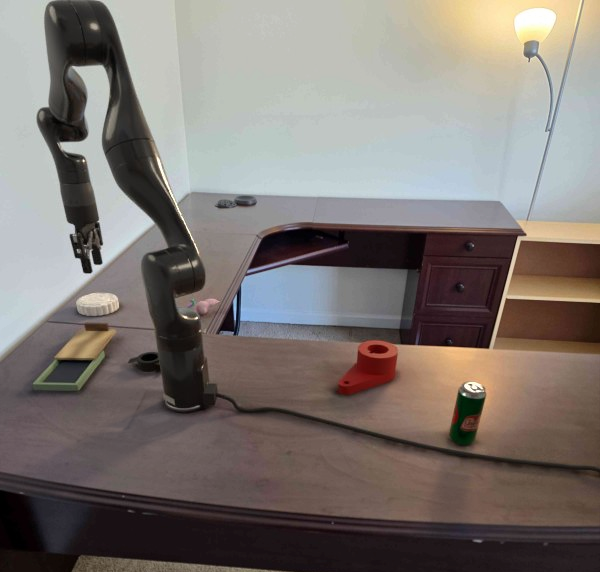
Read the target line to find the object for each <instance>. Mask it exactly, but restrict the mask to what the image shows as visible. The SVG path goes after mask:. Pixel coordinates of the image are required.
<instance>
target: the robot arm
mask: <svg viewBox="0 0 600 572" xmlns="http://www.w3.org/2000/svg"><path fill="white" fill-rule="evenodd" d="M44 9H45V10H44V15H43V26H44V27H43V28H44V37H45V46H46V55H47V56H46V57H47V64H48V71H49V80H50V81H49V89H48V90H49V91H48V100H47V101H48V102H47V103H48V106H44V107H40V108H38V110H37V112H36V118H35V119H36V125H37V128H38V130H39V132H40V134H41V137H42V138H43V140H44V141H45V143H46V145H47V147H48V150H49V152H50V154H51V156H52V159H53V163H54V166H55V170H56V173H57V179H58V183H59V192H60V197H61V201H62V205H63V209H64V214H65V218H66V222H67V223H68V224H70V225H72V226H74V233H70V234H69V239H70V244H71V248H72V251H73V256H74V258H75V259H79V261H80V265H81V268H82V272H83V274H87V275H88V274H89V275H91V274H92V273H93V271H94V270H93V265H92V262H93V264H94V266H102V265H103V257H102V251H101V250H102V246H104V241H103V235H102V229H101V224H100V223H101V222H99V221H100V216H99V210H98V206H97V201H96V195H95V190H94V187H93V183H92V180H91V175H90V171H89V170H90V169H89V165H88V161H87V158H86V156H84V155H83V154H80V153H75V152H69V151H66V150H65V149H64V148H63V147H62V145H61V143H80V142H83V141H85V140H86V139H88V137H89V133H90V130H89V124H88V121H87V117H86V109H87V104H88V97H89V95H88V88H87V85H86V83H85V81H84V79H83V78H82V76H81V75H80V74H79V72H78V71H77V70H76V69H75V68H76V67H77V68H80V67H81V68H82V67H98V66H99V67H100V66H102V67H103V69H104V70H105V73H106V76H107V79H108V80H107V81H108V86H109V92H108V93H109V95H108V104H107V109H106V114H105V118H104V122H103V127H102V133H101V147H102V151H103V154H104V156H105V159H106V162H107V164H108V167H109V169H110V172H111V175H112V177H113V180H114V181H115V184H117V187H118V188H119V189H120V191H122V193H123V194H124V195H125V196H126V197H127V198H128V199H129V200H130V201H131V202H132V203H133V204H135V205H136V207H138V208H139V209H140V210H141V211H142V212H143V213H144V214H145V215H146V216H147V217H149V218H150V220H152V222H153V223H154V224H155V226H156V227H157V228H158V230H159V232H160V233H161V235H162V238H163V240H164V241H165V243H166V246H167V247H165V248H160V249H155V250H151V251H148V252H146V253H144V255H142V258H141V262H140V275H141V279H142V284H143V289H144V293H145V298H146V302H147V307H148V312H149V316H150V319H151V322H152V324H153V329H154V338H155V342H156V349H157V353H158V356H159V363H160V369H161V370H160V374H161V382H162V387H163V393H162V397H163V400H164V404H165V407H166V408H167V409H168V410H170V411H173V412H177V413H192V412H197V411H199V410H205V409H207V407H208V406H216V403H217V400H218V398H219V399H223V400H226V401H228V402H230V403H231V404H232V405H233V407H234V408H235V409H236V410H237V411H239V412H242V413H249V414H251V413H252V414H253V413H261V412H275V413H281V414H284V415H285V414H286V415H290V416H294V417H297V418H302V419H306V420H310V421H314V422H317V423H322V424H326V425H330V426H333V427H337V428H340V429H344V430H349V431H351V432H356V433H360V434H363V435H368V436H371V437H374V438H379V439H383V440H386V441H390V442H395V443H397V444H403V445H406V446H410V447H415V448H419V449H424V450H430V451H434V452H439V453H443V454H450V455H455V456H459V457H467V458H473V459H480V460H487V461H493V462H501V463H507V464H508V463H509V464H515V465H526V466H536V467H545V468H546V467H547V468H555V469H556V468H557V469H565V470H572V471H573V470H574V471H577V470H578V471H591V472H593V471H594V472H597V473H599V474H600V467H599V466H595V465H587V464H584V465H583V464H582V465H581V464H567V463H560V462H549V461H538V460H528V459H519V458H510V457H502V456H501V457H500V456H495V455H487V454H481V453H474V452H467V451H463V450H457V449H456V450H455V449H451V448H445V447H441V446H436V445H435V446H434V445H430V444H425V443H420V442H416V441H412V440H408V439H403V438H398V437H394V436H390V435H386V434H383V433H378V432H376V431H371V430H367V429H364V428H359V427H356V426H352V425H348V424H344V423H341V422H337V421H333V420H329V419H325V418H320V417H317V416H313V415H310V414H305V413H301V412H298V411H293V410H289V409H285V408H279V407H272V406H266V407H256V408H245V407H242V406H240V405H238V403H237V401H236V400H235V399H234V398H232V397H230V396H228V395H225V394H223V393H220V392H219V391H218V383H214V382H213V383H212V382H211V383H210V375H209V366H208V365H209V364H208V357H207V356H205V350H204V342H203V341H204V340H203V330H202V329H203V328H202V320H201V319H202V318H201V315H199V314H198V313H197V312H196V311H193V310H194V309H192V308H189V309H187V307H178V306H177V303H176V299H177V298H181V297H185V296H188V295H192V294H195V293H198V292H200V291H201V290H203V289H204V287H205V285H206V282H207V274H206V269H205V268H206V267H205V264H204V261H203V259H202V256H201V253H200V251H199V248H198V246H197V244H196V242H195V240H194V238H193V236H192V234H191V232H190V229H189V227H188V226H187V223H186V221H185V219H184V217H183V214H182V212H181V210H180V207H179V205H178V202H177V200H176V197H175V194H174V192H173V189H172V187H171V184H170V181H169V178H168V176H167V172H166V170H165V169H166V168H165V166H164V163H163V160H162V158H161V154H160V152H159V150H158V149H159V148H158V147H157V145H156V144H157V143H156V141H155V139H154V135H153V134H152V132H151V128H150V126H149V123H148V121H147V118H146V116H145V113H144V111H143V108H142V105H141V103H140V99H139V97H138V94H137V91H136V89H135V84H134V80H133V78H132V74H131V71H130V67H129V64H128V61H127V57H126V55H125V51H124V47H123V44H122V40H121V38H120V34H119V30H118V28H117V25H116V22H115V19H114V17H113V15H112V13H111V11H110V9H109V8H108V6H107V5H106V4H105V3H104V2H102V1H101V0H52V1H49V2H48V3H47V4H46V6H45V8H44ZM74 67H75V68H74ZM90 253H91V254H90ZM91 257H92V261H91Z"/></svg>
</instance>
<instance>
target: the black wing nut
mask: <svg viewBox="0 0 600 572" xmlns="http://www.w3.org/2000/svg"><path fill="white" fill-rule="evenodd" d="M127 364H133V365H137V366H138V370H139V371H140V372H143V373H144V372H145V373H152V372H155V373H158V372H161V369H160V363H159V356H158V351H157V352H156V351H147V352H143V353H141V354H139V355H137V356H135V357H132V358H130V359H128V361H127Z"/></svg>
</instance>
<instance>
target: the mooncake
mask: <svg viewBox="0 0 600 572" xmlns="http://www.w3.org/2000/svg"><path fill="white" fill-rule="evenodd" d="M75 304H76V309H77V312H78V313H79V314H80V315H82V316H87V317H101V316H107V315H109V314H113V313H114V312H116V311H118V309H119V308H120V303H119V298H118V296H117V295H116V294H113V293H111V292H101V291H100V292H92V293H89V294H86V295H82V296H80V297H79V298H78V299H76V302H75Z"/></svg>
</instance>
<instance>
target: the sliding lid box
mask: <svg viewBox="0 0 600 572" xmlns="http://www.w3.org/2000/svg"><path fill="white" fill-rule="evenodd" d="M105 357H106V356H105V350H104V349H103V350H102V351H101V352H100V353H99V355H98V356H97V357H96V358H95V360H93V361H92V362H91V363H90V365H89V366H88V367H87V369H86V370H85V371H84V372H83V374H82V375H81V376H80V377H79V379H78V380H77V381H76V383H44V381H45V380H46V379H47V378H48V377H49V376H50V375H51V374H52V373H53V371H54V370H55V369H56V368H57V367H58V366H59V365H60V364H61V362H62V361H63V360H55V359H54V360H53V361H52V362H51V363H50V364H49V366H48V367H47V368H46V369H44V371H43V372H42V373H41V374H40V375H39V376H38V378H36V379H35V381H34V382H33V383H32V387H33V391H59V392H61V391H62V392H63V391H67V392H68V391H69V392H70V391H72V392H74V391H75V392H78V391H80V390H81V389H82V387H83V386H84V385H85V383H86V382H87V381H88V380H89V378H90V377H91V376H92V374H93V372H94V371H95V370H96V369H97V367H98V366H99V365H100V363H101V362H102V361H103V359H105Z"/></svg>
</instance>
